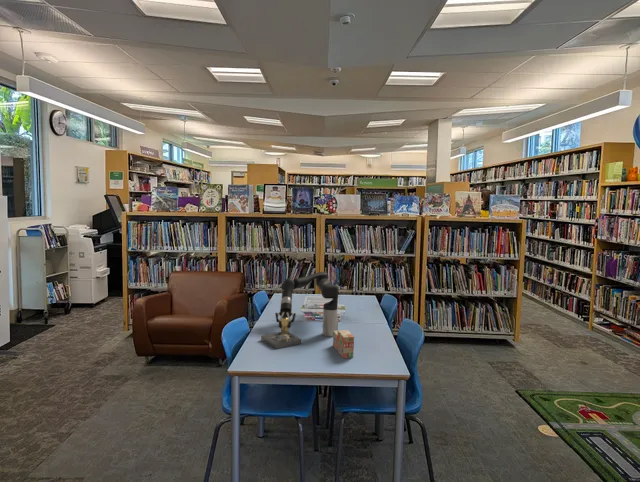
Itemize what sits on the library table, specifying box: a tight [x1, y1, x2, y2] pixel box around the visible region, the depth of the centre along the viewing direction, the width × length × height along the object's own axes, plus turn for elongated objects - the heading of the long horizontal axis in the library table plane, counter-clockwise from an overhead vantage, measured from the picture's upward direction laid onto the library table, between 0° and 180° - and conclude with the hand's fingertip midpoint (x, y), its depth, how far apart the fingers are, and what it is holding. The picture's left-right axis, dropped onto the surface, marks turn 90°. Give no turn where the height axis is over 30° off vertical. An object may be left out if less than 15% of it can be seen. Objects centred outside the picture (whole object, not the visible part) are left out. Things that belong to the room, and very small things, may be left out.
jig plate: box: [260, 331, 303, 350], centre depth 250 cm, size 18×18×3 cm
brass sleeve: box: [280, 317, 290, 333], centre depth 267 cm, size 5×5×10 cm
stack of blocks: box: [332, 329, 355, 359], centre depth 237 cm, size 21×6×12 cm, turn 14°
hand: (284, 327), depth 266 cm, fingers closed on brass sleeve, 5 cm apart
